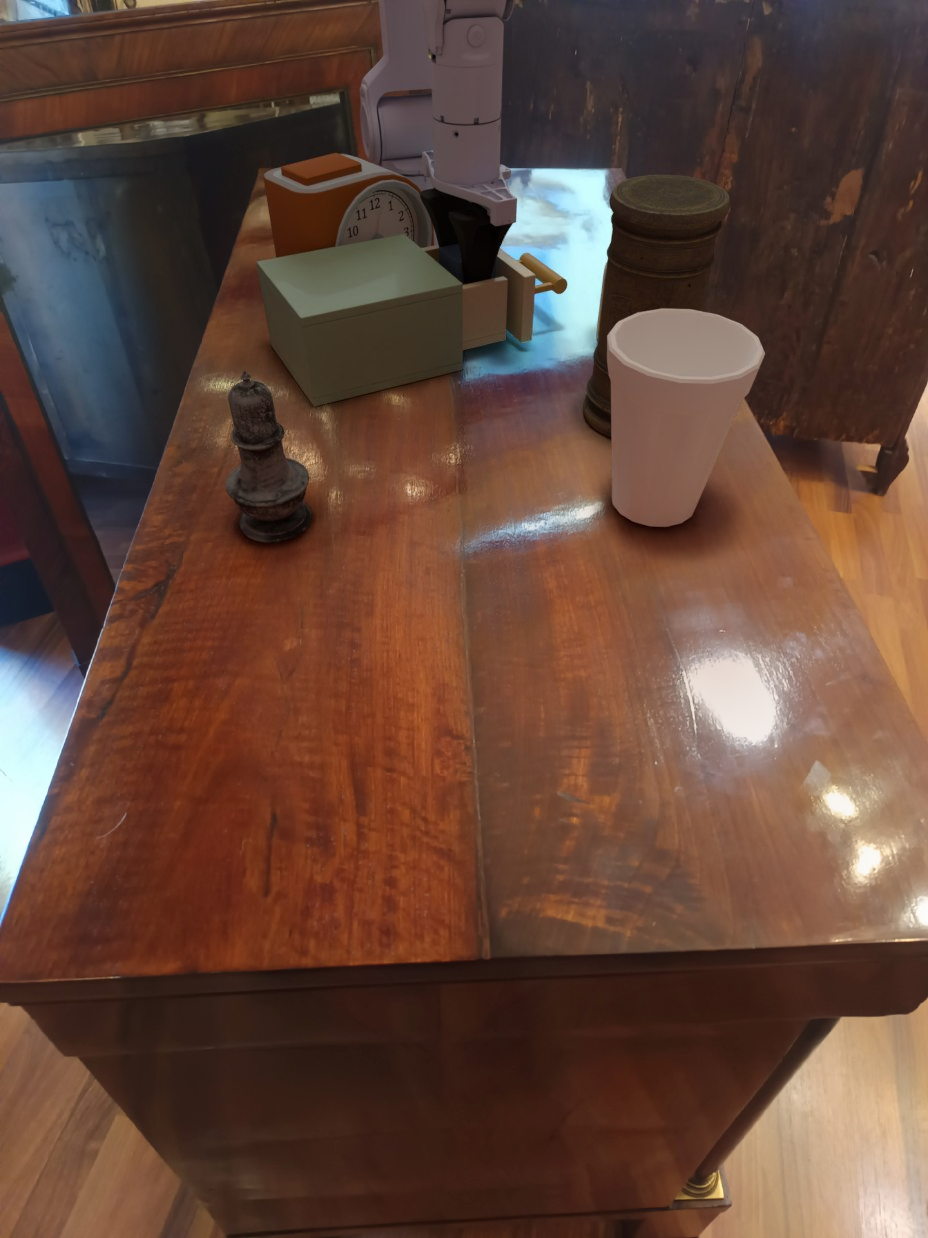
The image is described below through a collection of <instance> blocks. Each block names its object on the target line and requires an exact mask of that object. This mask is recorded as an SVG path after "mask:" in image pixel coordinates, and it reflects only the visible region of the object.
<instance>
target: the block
mask: <svg viewBox="0 0 928 1238" xmlns="http://www.w3.org/2000/svg"><path fill="white" fill-rule="evenodd" d="M496 259H497V258H496ZM439 264H440V265H441V266H442V267H444V268H445V269H446V270H447V271H448V272H449V273H451V274H452V275H453V276H454V277H455V278H456V279H458V280H459V281H460V282H461V283H462V284H463V285H465V282H464V277H463V270H462V260H461V252H460V247H459V244H454V245H449V246H444V247H439ZM493 278H496V262H495V265H494V269H493V273H492V277H491V279H493Z"/></svg>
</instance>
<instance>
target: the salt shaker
mask: <svg viewBox="0 0 928 1238" xmlns="http://www.w3.org/2000/svg"><path fill="white" fill-rule="evenodd" d="M239 378H240V379H241V380H242V381H239V382H237V383H236V384H234V385H232V387H231V388H230V389H229V392H228V394H227V401H228V405H229V410H230V413H231V419H232V422H233V427H234V429H233V430H232V431H231V434H230V439H231V442H232V444H233V445H235V446H237V449H238V453H239V458H240V464H239V465H238V466H237V467H235V468H234V469H233V470H232V471H231V472H230V474H229V475H228V476H227V478H226V481H225V491H226V494H228V496H229V498H230V499H232V500H233V502H234V503H235V505H236V506H237V508H238V509H239V510H240V511H241V512H242V514H241V515H240V518H239V521H238V523H239V528H240V531H241V532H242V534H243V535H244V536H246V537H247V538H248V539H251V540H253V541H256V542H260V543H265V544H266V543H273V544H274V543H281V542H286V541H288V540H291V539H294V538H296V537H298V536H299V535H301V534H302V533H304V532H305V531H306V530H308V528H309V526H310V524H311V523H312V518H313V515H312V510H311V508H310V507H309V506H308V504H307V503H306V502H304V499H305V497H306V493H307V487H308V486H309V482H310V475H309V470H308V469H307V468H306V466H305V465H303V464H302V463H301V462H300V461H298V460H295V459H293V458H290V457H286V455H285V451H284V446H283V441H282V440H283V439H284V437H285V433H286V432H285V428H284V427H283V425H282V424H280V423H279V422H278V420H277V414H276V410H275V405H274V404H275V403H274V399H273V395H272V392H271V389H270V388H269V386H267V384H265V383H263V382H262V381H258V380H253V379H251V378H252V375H251V374H250V373H249V372H247V371H246V370H244V371H242V373H241V375H240V376H239Z"/></svg>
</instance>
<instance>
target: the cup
mask: <svg viewBox="0 0 928 1238" xmlns="http://www.w3.org/2000/svg"><path fill="white" fill-rule="evenodd" d="M765 355H766V353H765V350H764V347H763V345H762V343H761V340H760V338H759V337H758V336H757V334H755V333H753V332H752V331H751V330H750V329H749V328H748V327H746V326H745V325H743V324H742V323H740V322H737V321H736V320H732V319H730V318H727V317H725V316H723V315H720V314H717V313H712V312H706V311H697V310H692V309H656V310H650V311H644V312H639V313H636V314H633V315H631V316H629V317H627V318H625V319H623V320H621V321H619V322H618V323H616V325H615V326H614V327H613V329H612V330H611V331H610V333H609V334H608V335H607V365H608V373H609V377H610V380H611V437H610V439H611V501H612V506H613V507H614V508H615V509H616V510H617V512H618V513H619V514H620V515H621V516H623V517H625V518H626V519H628V520H629V521H630V522H634V523H636V524H639V525H644V526H648V527H659V528H660V527H661V528H662V527H663V528H667V527H671V526H675V525H676V526H677V525H680V524H683V523H684V522H685V521H687V520H689V519H690V518H692V517H693V514H694V512H695V510H696V508H697V506H698V504H699V501H700V499H701V497H702V495H703V492H704V490H705V487H706V485H707V483H708V481H709V479H710V477H711V474H712V472H713V470H714V467H715V465H716V462H717V460H718V458H719V456H720V453H721V451H722V449H723V447H724V445H725V442H726V440H727V438H728V435H729V434H730V431H731V429H732V426H733V424H734V422H735V419H736V417H737V415H738V413H739V410H740V409H741V406H742V404H743V401H744V400H745V398H746V396H748V394H750V391H751V389H752V387H753V384H754V382H755V380H756V377H757V376H758V375H757V374H758V372H759V370H760V368H761V365H762V363H763V361H764V358H765Z"/></svg>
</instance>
